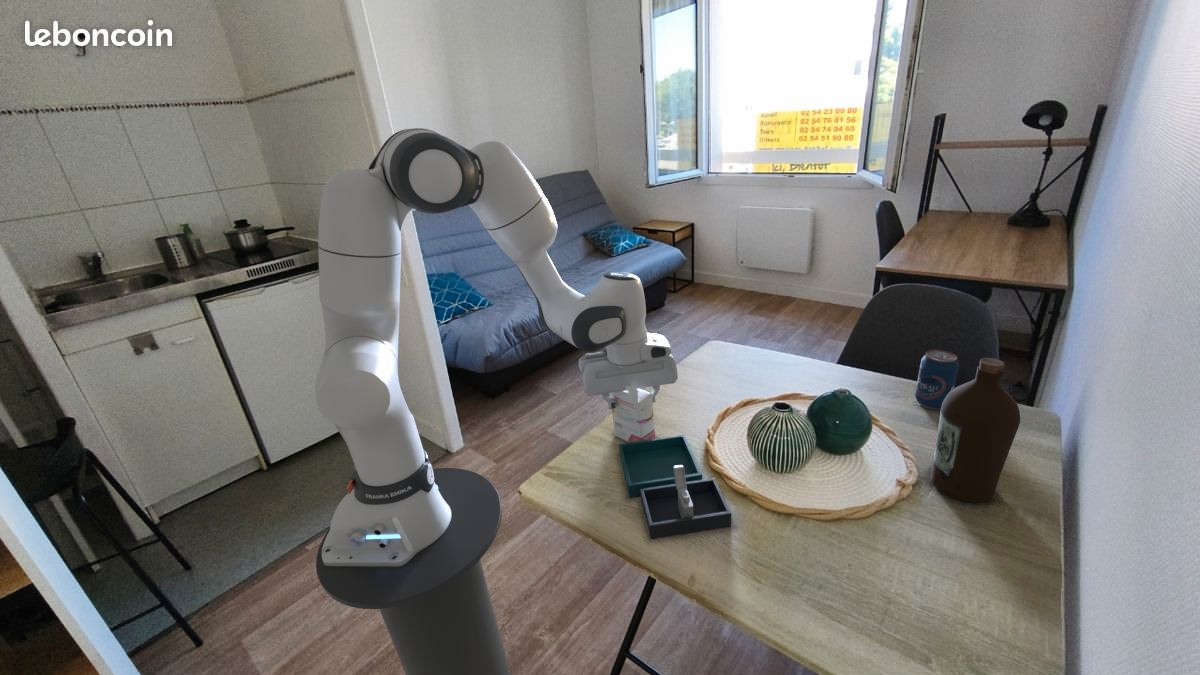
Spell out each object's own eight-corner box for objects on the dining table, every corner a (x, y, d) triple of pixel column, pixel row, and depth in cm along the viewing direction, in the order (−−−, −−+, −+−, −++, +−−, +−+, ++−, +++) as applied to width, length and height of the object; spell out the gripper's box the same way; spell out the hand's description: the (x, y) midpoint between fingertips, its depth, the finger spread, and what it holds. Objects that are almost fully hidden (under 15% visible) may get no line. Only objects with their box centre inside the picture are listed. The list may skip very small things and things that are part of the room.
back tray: (629, 498, 95) (628, 485, 94) (619, 455, 107) (618, 443, 106) (702, 487, 96) (702, 474, 95) (684, 446, 108) (684, 434, 107)
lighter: (693, 525, 87) (693, 489, 84) (684, 526, 87) (682, 490, 84) (683, 496, 94) (682, 462, 90) (674, 498, 93) (672, 463, 90)
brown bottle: (981, 467, 94) (1014, 347, 84) (1010, 508, 84) (1051, 379, 74) (917, 464, 96) (941, 347, 86) (939, 503, 87) (968, 377, 77)
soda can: (908, 403, 114) (917, 356, 110) (920, 391, 118) (929, 345, 113) (943, 414, 109) (953, 366, 105) (954, 401, 113) (965, 354, 108)
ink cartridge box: (656, 438, 112) (653, 381, 106) (642, 449, 109) (637, 390, 102) (628, 425, 117) (623, 369, 111) (613, 435, 114) (607, 378, 108)
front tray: (650, 539, 86) (649, 525, 85) (640, 501, 94) (639, 488, 93) (731, 527, 87) (731, 513, 85) (714, 490, 95) (714, 477, 94)
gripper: (578, 361, 100) (586, 419, 106) (678, 347, 101) (680, 405, 107) (576, 348, 106) (583, 404, 112) (671, 335, 107) (673, 390, 113)
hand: (632, 404), depth 109 cm, fingers closed on ink cartridge box, 7 cm apart
